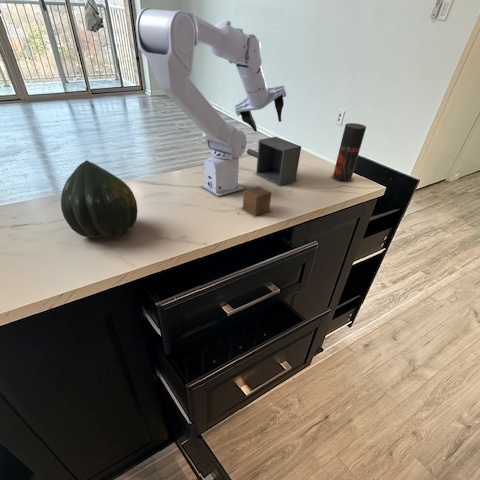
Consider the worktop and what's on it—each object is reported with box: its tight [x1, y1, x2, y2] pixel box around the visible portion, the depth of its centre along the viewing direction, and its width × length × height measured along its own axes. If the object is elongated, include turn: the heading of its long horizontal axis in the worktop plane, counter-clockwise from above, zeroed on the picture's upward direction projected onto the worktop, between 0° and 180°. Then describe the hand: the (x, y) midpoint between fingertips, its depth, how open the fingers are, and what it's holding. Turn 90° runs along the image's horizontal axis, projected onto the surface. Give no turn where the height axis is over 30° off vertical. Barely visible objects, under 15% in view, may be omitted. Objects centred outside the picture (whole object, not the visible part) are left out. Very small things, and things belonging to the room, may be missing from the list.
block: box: [242, 185, 272, 217], centre depth 82 cm, size 5×5×5 cm
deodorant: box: [332, 122, 367, 183], centre depth 98 cm, size 6×6×15 cm
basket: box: [246, 136, 302, 186], centre depth 99 cm, size 10×17×7 cm
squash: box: [60, 159, 139, 239], centre depth 68 cm, size 14×15×15 cm
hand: (267, 124), depth 96 cm, fingers open, 7 cm apart
